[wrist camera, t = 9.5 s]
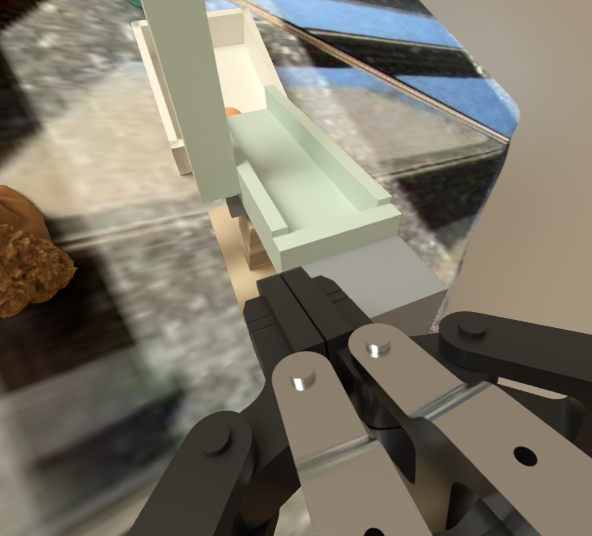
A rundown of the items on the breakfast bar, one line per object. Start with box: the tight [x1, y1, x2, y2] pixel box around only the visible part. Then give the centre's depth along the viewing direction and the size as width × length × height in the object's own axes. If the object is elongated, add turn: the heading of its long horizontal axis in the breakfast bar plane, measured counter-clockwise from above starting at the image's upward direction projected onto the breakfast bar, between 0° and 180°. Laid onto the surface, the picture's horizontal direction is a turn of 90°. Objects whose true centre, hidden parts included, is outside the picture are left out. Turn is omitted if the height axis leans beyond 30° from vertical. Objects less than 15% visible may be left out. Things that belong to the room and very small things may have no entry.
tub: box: [131, 7, 288, 175], centre depth 37 cm, size 16×13×4 cm
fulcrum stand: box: [208, 194, 277, 322], centre depth 30 cm, size 12×10×11 cm
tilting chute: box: [141, 0, 448, 336], centre depth 18 cm, size 23×10×16 cm, turn 21°
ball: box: [225, 107, 241, 117], centre depth 36 cm, size 4×4×4 cm
